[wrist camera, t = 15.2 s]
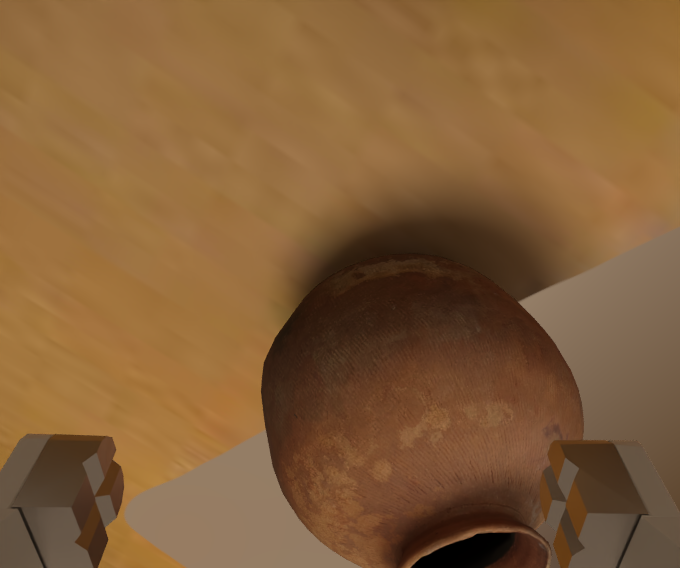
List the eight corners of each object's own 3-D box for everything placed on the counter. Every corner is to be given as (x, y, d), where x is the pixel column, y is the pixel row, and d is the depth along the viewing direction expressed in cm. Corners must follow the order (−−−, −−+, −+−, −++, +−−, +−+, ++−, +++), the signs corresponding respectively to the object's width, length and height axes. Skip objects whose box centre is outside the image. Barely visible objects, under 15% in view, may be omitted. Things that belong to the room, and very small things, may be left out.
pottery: (238, 261, 52) (165, 505, 31) (502, 175, 48) (627, 392, 26) (331, 436, 63) (324, 702, 42) (551, 380, 59) (666, 646, 38)
